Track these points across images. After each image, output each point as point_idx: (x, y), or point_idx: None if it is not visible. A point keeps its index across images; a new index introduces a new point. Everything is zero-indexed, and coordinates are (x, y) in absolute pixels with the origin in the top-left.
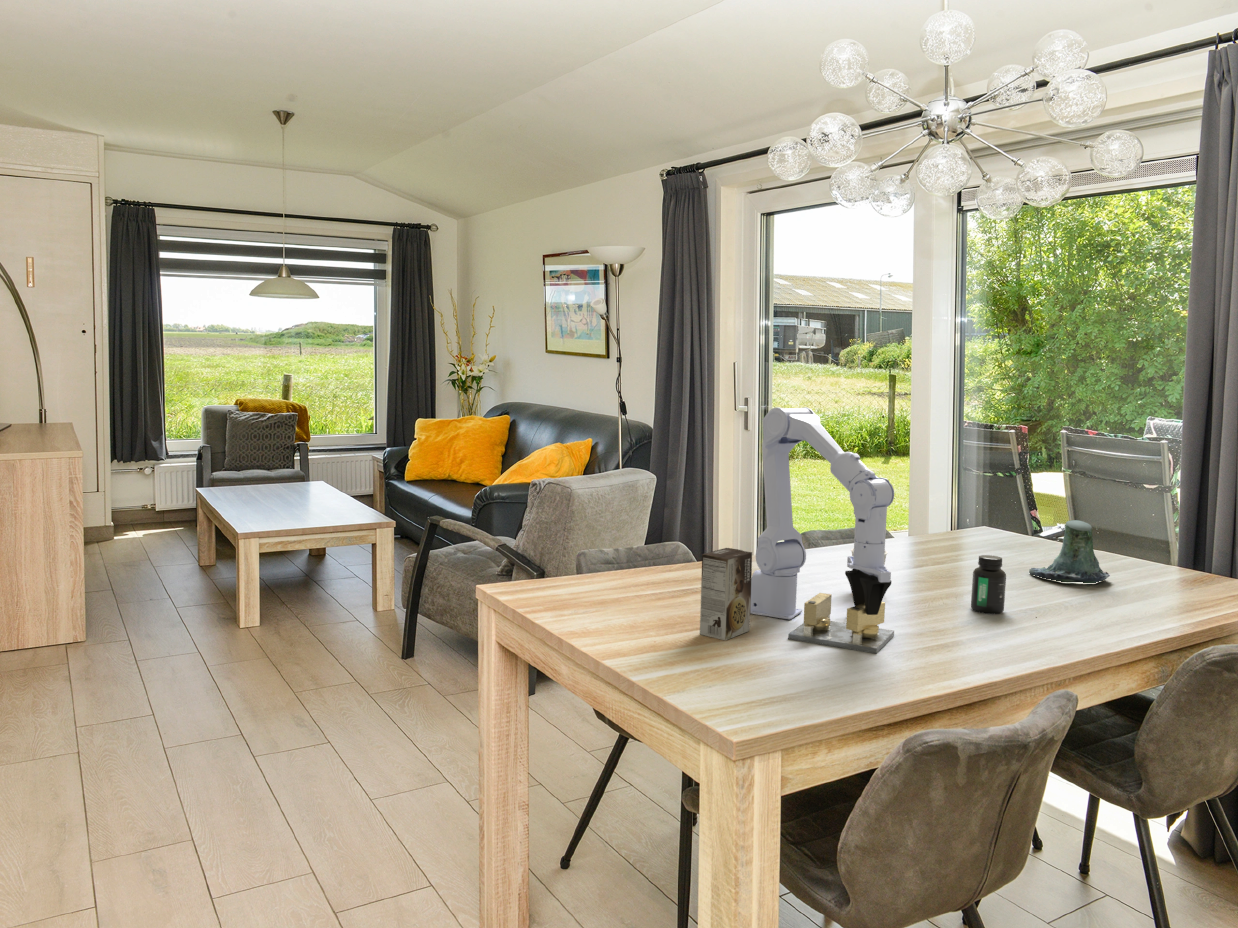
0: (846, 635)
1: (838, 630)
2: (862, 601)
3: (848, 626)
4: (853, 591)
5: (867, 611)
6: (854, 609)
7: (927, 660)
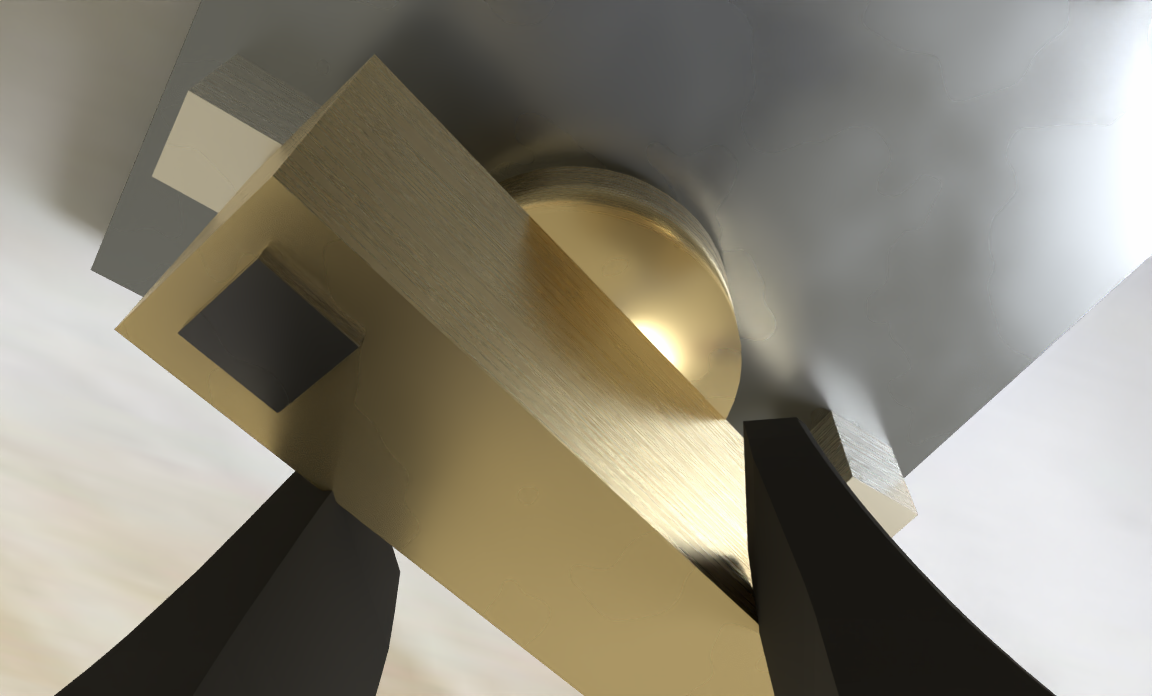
0: (592, 89)
1: (830, 53)
2: (761, 582)
3: (335, 94)
4: (822, 597)
5: (288, 481)
6: (209, 294)
7: (37, 568)
